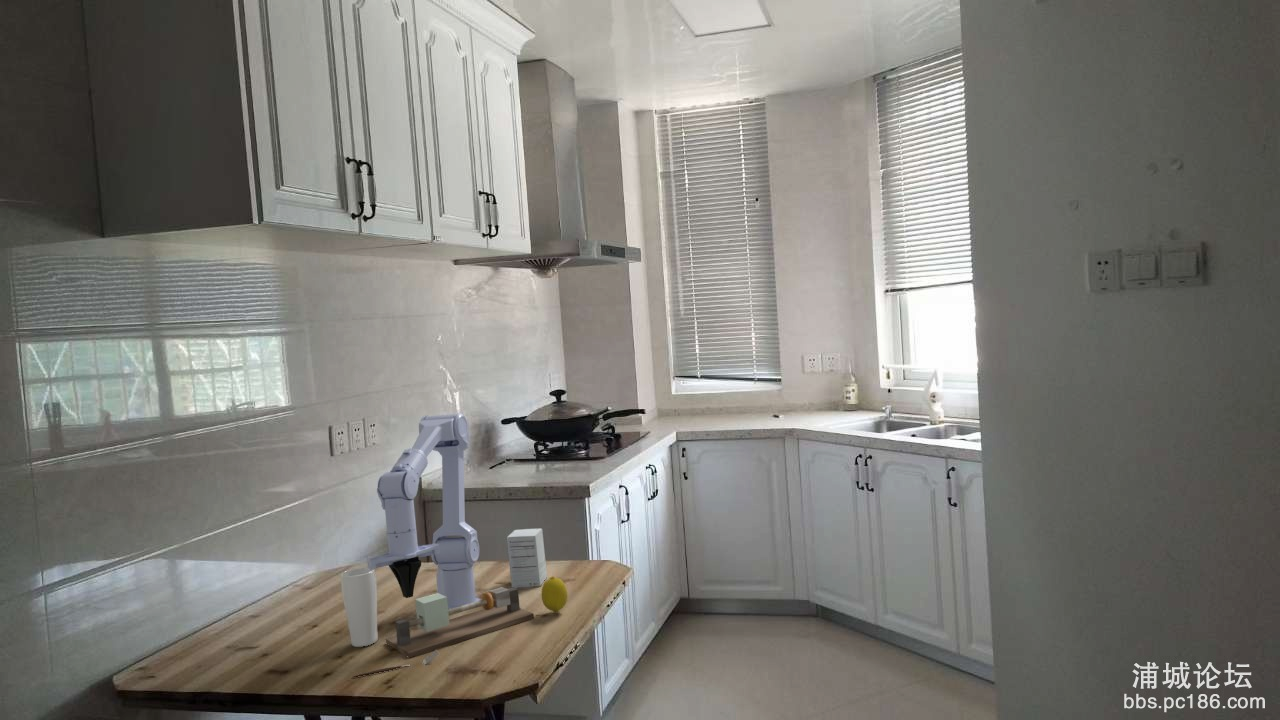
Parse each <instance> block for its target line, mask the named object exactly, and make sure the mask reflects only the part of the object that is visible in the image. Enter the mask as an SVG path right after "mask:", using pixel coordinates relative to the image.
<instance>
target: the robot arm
mask: <svg viewBox="0 0 1280 720" xmlns="http://www.w3.org/2000/svg"><path fill="white" fill-rule="evenodd" d="M469 426H470V425H469V422H468V420H467V418H466V416H465V415H464V414H463V413H461V412H458V413H454V414H453V413H452V414H439V415H438V414H437V415H423V417H422V418H421V419H420V420H419V422H418V436H417V437H416V440H415V442H414V444H413V446H412V448H408V449H404V451H403V452H402V454H401V455H400V456H399V458H398V460H397V461H396V463H394V465H393V466H392V468H391V469H390V471H389V472H388V471H387V472H384V473H383V474H382V475H381V476H379V478H378V480H377V488H376V493H377V496H378V498H379V500H380V502H381V508H382V510H384V513H385V515H384V516H385V524H386V532H387V533H386V535H387V544H388V552H386V553H383V554H380V555H377V556H374V557H371V558H368V559H366V561H367V567H368V569H370V570H374V571H375V570H377V569H379V568H384V567H386V566H388V568H389V569H390V570H391V572H392V574H393V575H394V577H395V578H396V581H397V583H398V584H399V588H400V591H401V593H402V597H403V598H404V599H407V598H408V599H409V598H413V597H414V590H415V589H414V588H415V585H416V581H417V580H416V579H417V576H418V573H419V572H420V568H421V567H422V560H421V559H420V558H423V557H428V556H431V557H430V558H431V560H432V562H433V563H434V565H435V566H437V569H438V570H437V572H436V576H435V577H436V588H437V593H439V594H441V595H443V596H446V597H447V604H448V610H449V609H452V608H456V607H459V606H463V605H466V604H469V603H473V602H476V601H480V600H481V598H479V597H477V594H476V585H475V584H476V583H475V575H474V564H476V562H477V561H478V559H479V556H480V544H479V540H478V539H479V538H478V532H477V531H478V530H476V529H474V528H473V526H471V525H470V524H468V523H467V522H466V520H465V519H466V517H465V516H466V515H465V505H466V504H465V503H466V502H465V458H464V457H465V455H464V454H465V450H466V451H467V449H469V447H470V444H469V443H470V427H469ZM432 451H435V452H437V453H439V455H441V470H442V471H441V472H442V473H441V475H442V480H441V481H442V483H441V484H442V489H441V490H442V525H440V527H438V529H436V531H434V532H433V535H432V536H433V537H432V542H431V543H430V544H423V545H419V544H418V532H417V524H416V523H417V522H416V512H415V502H414V501H415V500H414V498H415V497H416V496H417V493H418V490H419V484H420V478H421V476H422V474H423V473H424V471H425V469H426V468H427V466H428V456H429V454H430V453H431V452H432ZM448 536H449V537H448ZM453 536H454V537H453ZM455 536H456V537H455ZM457 536H460V537H457Z"/></svg>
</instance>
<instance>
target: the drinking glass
mask: <svg viewBox="0 0 1280 720" xmlns="http://www.w3.org/2000/svg"><path fill="white" fill-rule="evenodd" d="M340 584H341V592H342V601H343V605H344V610H345V616H346V620H347V625H348V631H349V636H350V644H351V645H352V646H353V647H355V648H364V647H363V646H365V647H368V645H369V646H371V644H372V645H374V644H375V643H376V642H377V641H378V639H379V633H378V595H377V594H378V593H377V592H378V591H377V590H378V589H377V588H378V587H377V577H376V572H375V569H374V570H370V569H368V566H363V567H355V568H351V569H348V570H346V571H344V572H342V573H340ZM373 643H374V644H373Z"/></svg>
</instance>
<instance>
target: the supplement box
mask: <svg viewBox="0 0 1280 720" xmlns="http://www.w3.org/2000/svg"><path fill="white" fill-rule="evenodd" d="M543 533H544V532H543V528H524V529H514V530H513V531H512V532H511V533H509V535H507V536H506V542H507V553H508V564H509V571H510V572H509V575H510V583H511V588H516V589H519V588H534V587H533V586H539V587H541V585H543V584H544V583H545V581H544V580H546V579H547V578H548V574H547V563H546V554H545V553H546V552H545V545H544V544H545V543H544V534H543ZM546 577H547V578H546Z"/></svg>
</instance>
